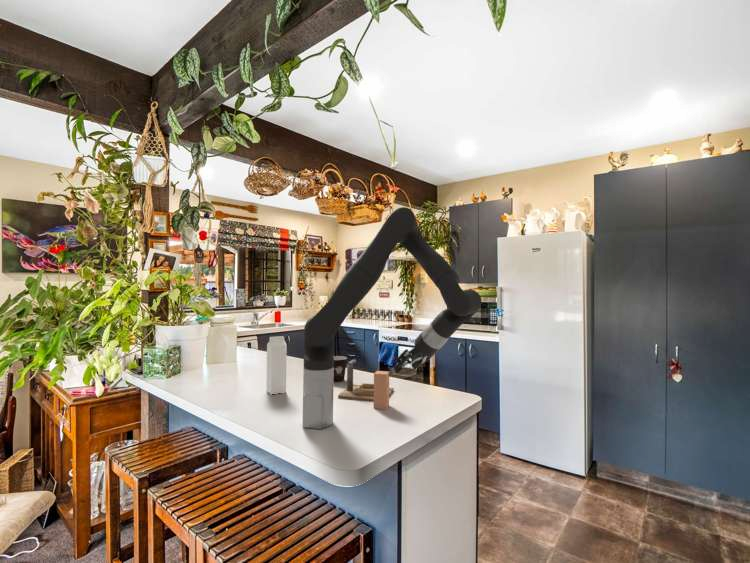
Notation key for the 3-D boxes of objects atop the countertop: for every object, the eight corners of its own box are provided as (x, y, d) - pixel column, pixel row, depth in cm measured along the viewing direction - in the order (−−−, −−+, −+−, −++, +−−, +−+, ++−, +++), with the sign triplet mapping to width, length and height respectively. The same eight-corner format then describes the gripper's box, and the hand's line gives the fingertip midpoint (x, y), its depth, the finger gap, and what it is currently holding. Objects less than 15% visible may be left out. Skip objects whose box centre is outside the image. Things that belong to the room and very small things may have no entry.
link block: (386, 409, 129) (386, 374, 129) (373, 408, 130) (373, 373, 130) (388, 405, 133) (389, 371, 133) (376, 404, 134) (377, 370, 134)
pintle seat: (384, 402, 136) (384, 369, 137) (338, 397, 141) (338, 366, 141) (393, 390, 152) (393, 360, 152) (351, 386, 156) (351, 358, 157)
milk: (266, 391, 148) (266, 336, 149) (280, 389, 152) (281, 335, 152) (271, 395, 143) (271, 337, 144) (286, 392, 147) (286, 336, 147)
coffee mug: (348, 378, 171) (348, 356, 171) (344, 383, 162) (345, 360, 162) (323, 377, 172) (323, 355, 172) (318, 382, 163) (318, 359, 163)
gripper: (439, 327, 122) (412, 357, 131) (410, 330, 113) (383, 362, 121) (453, 345, 118) (424, 375, 127) (424, 350, 109) (395, 382, 117)
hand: (404, 369), depth 124 cm, fingers open, 8 cm apart
